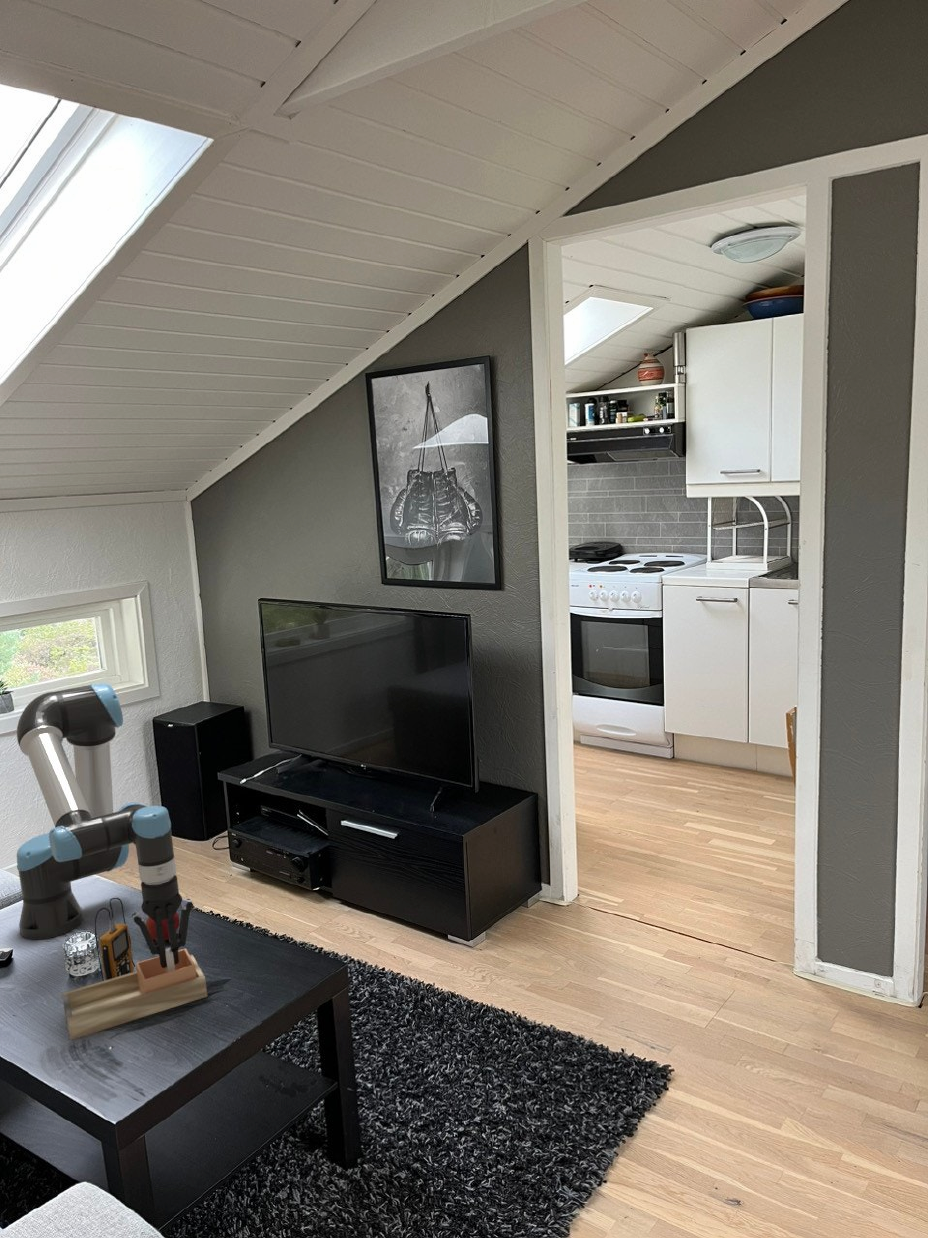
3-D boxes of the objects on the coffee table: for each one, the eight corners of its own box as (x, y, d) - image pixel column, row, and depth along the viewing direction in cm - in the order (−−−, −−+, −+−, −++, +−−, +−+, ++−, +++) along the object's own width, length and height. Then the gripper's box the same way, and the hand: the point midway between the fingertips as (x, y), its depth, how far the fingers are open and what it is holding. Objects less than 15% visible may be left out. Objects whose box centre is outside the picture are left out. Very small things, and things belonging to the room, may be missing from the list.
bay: (64, 1012, 207) (61, 993, 206) (194, 972, 220) (192, 954, 219) (71, 1040, 196) (68, 1020, 196) (207, 996, 209) (205, 977, 208)
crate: (138, 988, 212) (135, 963, 211) (188, 972, 217) (185, 948, 216) (146, 1007, 205) (143, 981, 204) (198, 990, 210) (195, 965, 209)
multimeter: (137, 1004, 209) (126, 919, 206) (96, 1002, 211) (84, 917, 208) (171, 969, 223) (161, 888, 220) (132, 967, 225) (121, 887, 222)
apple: (179, 944, 234) (175, 913, 233) (144, 948, 233) (140, 918, 231) (183, 929, 241) (179, 900, 240) (150, 934, 240) (146, 904, 239)
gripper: (130, 892, 201) (144, 996, 205) (192, 876, 207) (205, 977, 211) (124, 880, 208) (138, 980, 211) (185, 864, 214) (197, 962, 217)
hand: (171, 978), depth 211 cm, fingers closed
